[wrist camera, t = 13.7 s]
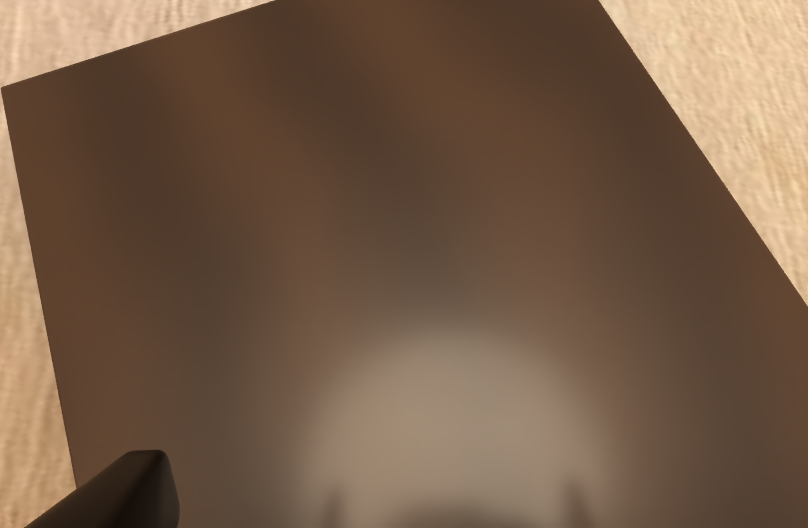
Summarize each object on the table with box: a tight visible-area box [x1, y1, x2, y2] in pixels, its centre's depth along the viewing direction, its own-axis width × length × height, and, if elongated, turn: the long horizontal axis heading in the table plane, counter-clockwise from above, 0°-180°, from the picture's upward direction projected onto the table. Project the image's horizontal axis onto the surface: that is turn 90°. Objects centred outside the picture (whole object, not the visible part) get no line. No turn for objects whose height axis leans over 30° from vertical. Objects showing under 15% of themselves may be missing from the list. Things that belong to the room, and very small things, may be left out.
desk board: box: [1, 0, 808, 528], centre depth 18 cm, size 20×25×2 cm
